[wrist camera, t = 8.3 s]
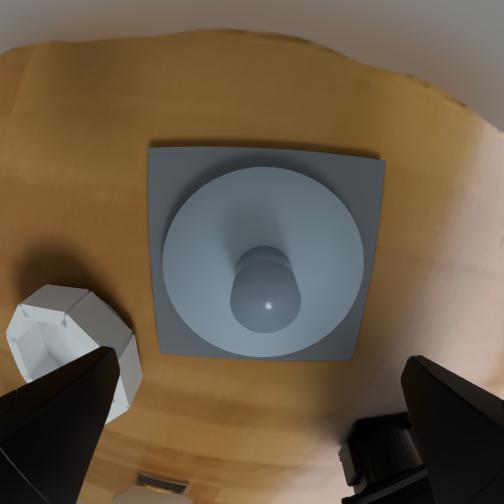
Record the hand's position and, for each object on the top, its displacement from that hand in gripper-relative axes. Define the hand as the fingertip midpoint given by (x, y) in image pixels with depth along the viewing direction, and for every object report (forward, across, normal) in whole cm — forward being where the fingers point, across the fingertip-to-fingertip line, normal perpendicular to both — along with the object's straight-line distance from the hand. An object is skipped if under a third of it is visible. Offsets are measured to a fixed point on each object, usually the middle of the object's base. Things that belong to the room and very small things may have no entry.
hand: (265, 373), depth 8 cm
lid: (+9, 0, 0) cm, 9 cm away
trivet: (+10, 0, 0) cm, 10 cm away
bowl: (+10, +13, +7) cm, 18 cm away
